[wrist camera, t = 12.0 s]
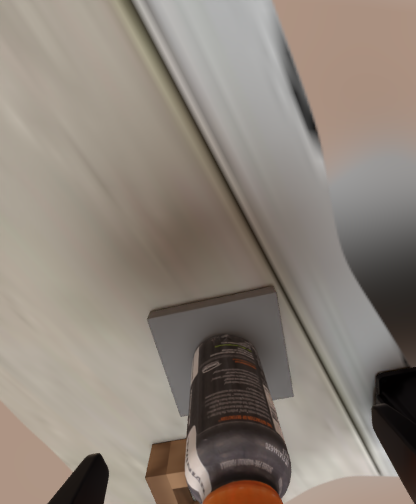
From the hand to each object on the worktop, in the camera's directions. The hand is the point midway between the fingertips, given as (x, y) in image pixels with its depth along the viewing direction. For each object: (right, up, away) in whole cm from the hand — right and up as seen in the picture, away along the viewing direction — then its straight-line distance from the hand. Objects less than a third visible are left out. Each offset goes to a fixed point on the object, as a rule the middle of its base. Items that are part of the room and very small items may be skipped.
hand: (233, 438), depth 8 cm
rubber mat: (+1, -3, +14) cm, 15 cm away
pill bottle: (+1, -4, +13) cm, 14 cm away
